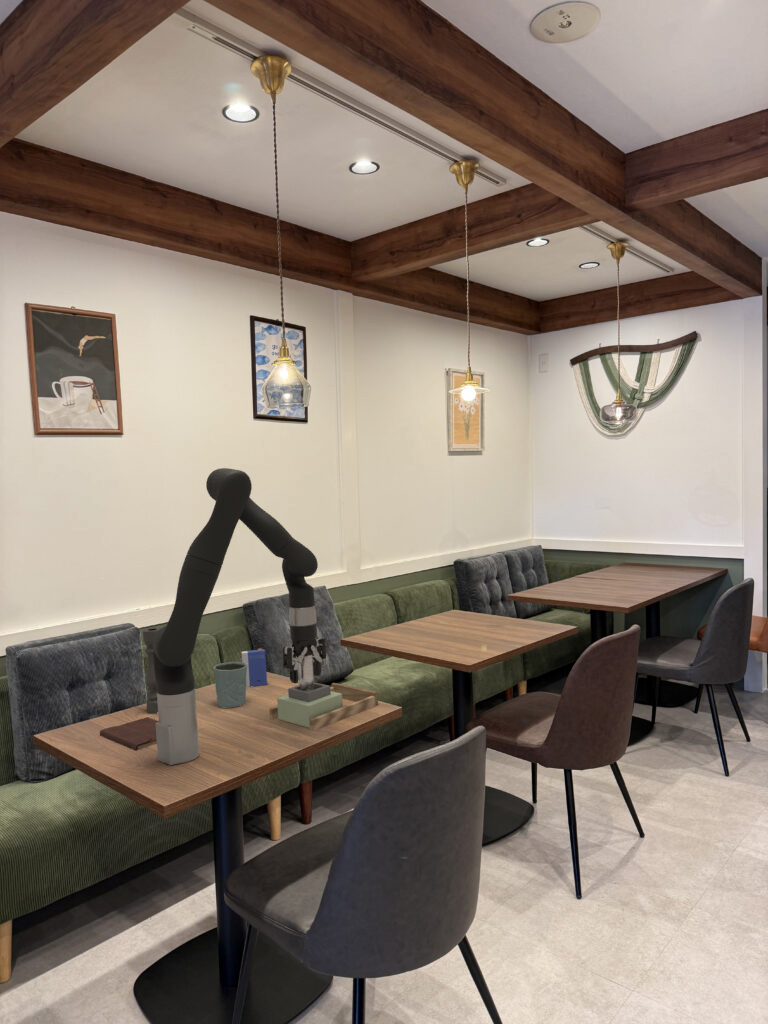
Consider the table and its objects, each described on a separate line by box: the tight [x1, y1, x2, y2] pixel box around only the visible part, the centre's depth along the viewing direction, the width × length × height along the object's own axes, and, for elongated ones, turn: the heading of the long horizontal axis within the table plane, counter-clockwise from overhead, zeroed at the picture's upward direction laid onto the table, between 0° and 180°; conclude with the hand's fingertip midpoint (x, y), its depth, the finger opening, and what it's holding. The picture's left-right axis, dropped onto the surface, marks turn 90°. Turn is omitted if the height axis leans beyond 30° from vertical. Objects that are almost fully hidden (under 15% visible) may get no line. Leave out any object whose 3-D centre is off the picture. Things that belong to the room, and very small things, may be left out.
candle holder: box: [142, 627, 162, 714], centre depth 223 cm, size 6×6×25 cm
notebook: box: [99, 716, 159, 751], centre depth 203 cm, size 15×20×2 cm
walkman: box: [241, 648, 268, 688], centre depth 246 cm, size 8×3×12 cm, turn 105°
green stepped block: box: [276, 682, 344, 729], centre depth 207 cm, size 13×13×8 cm
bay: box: [268, 682, 379, 732], centre depth 211 cm, size 26×18×5 cm
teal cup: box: [213, 661, 247, 709], centre depth 226 cm, size 10×10×12 cm
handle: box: [298, 654, 314, 692], centre depth 205 cm, size 4×4×12 cm
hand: (306, 679), depth 205 cm, fingers open, 8 cm apart
